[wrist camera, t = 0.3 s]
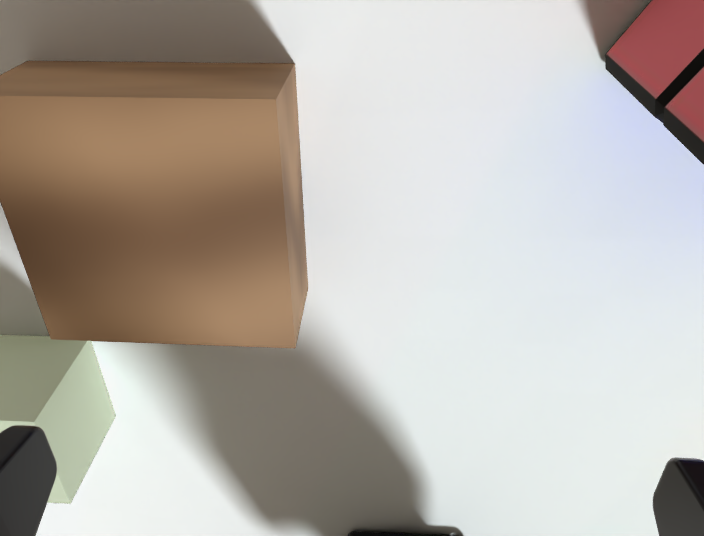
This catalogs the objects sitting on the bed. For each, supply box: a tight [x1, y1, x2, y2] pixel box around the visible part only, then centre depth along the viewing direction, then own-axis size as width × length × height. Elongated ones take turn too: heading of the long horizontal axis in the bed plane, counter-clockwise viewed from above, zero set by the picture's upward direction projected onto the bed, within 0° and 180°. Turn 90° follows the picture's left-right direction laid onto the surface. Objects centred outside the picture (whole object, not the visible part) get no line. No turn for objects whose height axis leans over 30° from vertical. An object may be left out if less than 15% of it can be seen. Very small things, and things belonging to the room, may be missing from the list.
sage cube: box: [0, 335, 116, 504], centre depth 26 cm, size 5×5×5 cm
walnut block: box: [0, 61, 308, 348], centre depth 21 cm, size 9×9×4 cm
